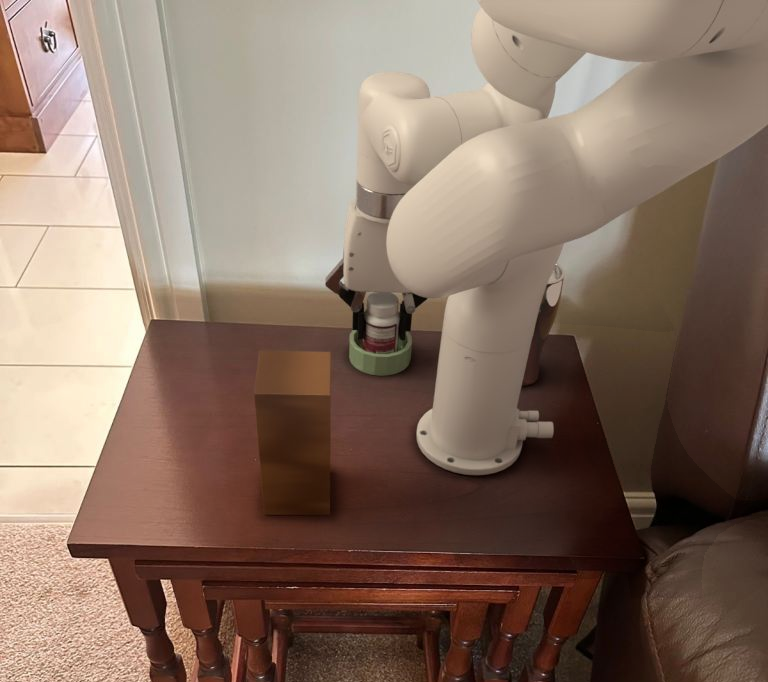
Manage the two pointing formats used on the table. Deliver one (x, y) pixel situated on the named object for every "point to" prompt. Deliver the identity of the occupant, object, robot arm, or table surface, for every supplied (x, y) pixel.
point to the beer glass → (544, 323)
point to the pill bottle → (381, 323)
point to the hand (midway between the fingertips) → (381, 333)
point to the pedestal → (294, 431)
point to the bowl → (379, 357)
